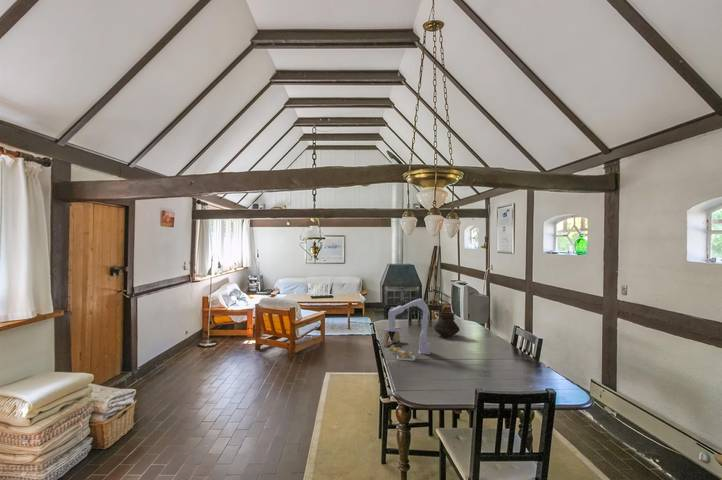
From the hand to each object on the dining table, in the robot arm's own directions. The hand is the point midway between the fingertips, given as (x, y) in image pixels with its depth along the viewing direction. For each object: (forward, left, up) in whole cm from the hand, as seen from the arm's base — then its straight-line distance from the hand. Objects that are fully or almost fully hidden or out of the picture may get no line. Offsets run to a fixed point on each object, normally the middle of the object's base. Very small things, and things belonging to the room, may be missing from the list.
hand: (391, 340), depth 309 cm
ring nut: (-3, +4, -7) cm, 9 cm away
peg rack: (-12, +19, -9) cm, 24 cm away
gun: (+1, -23, -9) cm, 24 cm away
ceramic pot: (-50, -58, -9) cm, 77 cm away
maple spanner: (-12, +19, -7) cm, 24 cm away
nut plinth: (-4, +4, -9) cm, 10 cm away
